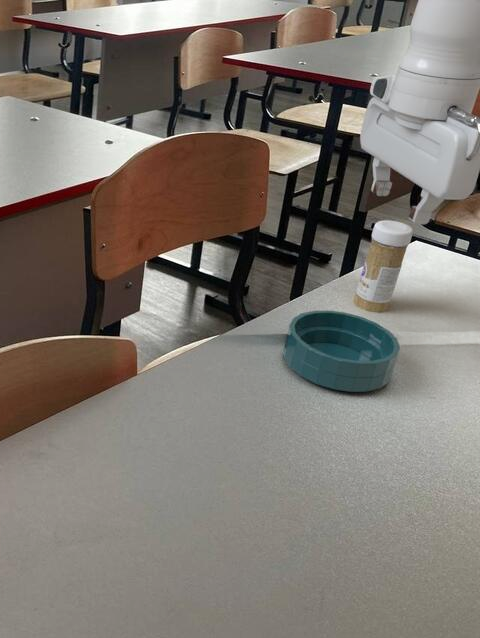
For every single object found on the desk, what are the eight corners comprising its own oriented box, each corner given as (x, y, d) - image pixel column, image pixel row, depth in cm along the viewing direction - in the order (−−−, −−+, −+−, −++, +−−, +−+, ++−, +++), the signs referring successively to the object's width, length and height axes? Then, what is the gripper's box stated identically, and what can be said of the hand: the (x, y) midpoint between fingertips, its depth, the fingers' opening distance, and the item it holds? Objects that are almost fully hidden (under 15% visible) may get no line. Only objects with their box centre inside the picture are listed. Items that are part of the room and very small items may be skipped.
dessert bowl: (359, 339, 98) (368, 309, 96) (409, 395, 88) (420, 362, 85) (267, 341, 98) (274, 310, 95) (306, 397, 87) (315, 364, 85)
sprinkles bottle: (343, 308, 106) (369, 218, 99) (376, 309, 106) (404, 219, 99) (357, 325, 102) (384, 232, 95) (390, 325, 102) (420, 233, 95)
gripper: (515, 121, 80) (470, 241, 87) (412, 77, 98) (382, 180, 105) (458, 120, 80) (417, 241, 86) (365, 76, 97) (338, 180, 104)
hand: (397, 207), depth 96 cm, fingers open, 8 cm apart
